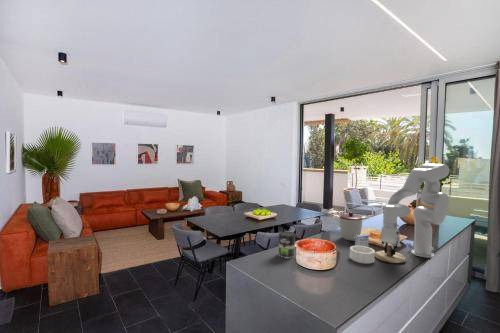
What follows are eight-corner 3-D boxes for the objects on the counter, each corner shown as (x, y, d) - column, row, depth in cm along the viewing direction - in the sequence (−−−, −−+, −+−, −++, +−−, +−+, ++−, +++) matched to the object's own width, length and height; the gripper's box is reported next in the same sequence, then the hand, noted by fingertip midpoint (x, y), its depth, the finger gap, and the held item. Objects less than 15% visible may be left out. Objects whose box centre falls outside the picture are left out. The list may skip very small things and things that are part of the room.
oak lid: (385, 250, 175) (385, 240, 175) (411, 259, 160) (411, 247, 160) (369, 255, 167) (369, 244, 166) (395, 265, 152) (395, 253, 152)
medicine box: (358, 249, 181) (359, 236, 180) (354, 246, 185) (355, 234, 185) (368, 248, 183) (368, 235, 183) (364, 246, 187) (364, 234, 187)
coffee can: (291, 259, 161) (292, 237, 160) (276, 256, 166) (276, 234, 165) (296, 254, 170) (297, 232, 169) (282, 251, 175) (282, 230, 174)
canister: (333, 237, 207) (333, 210, 206) (349, 234, 215) (349, 209, 215) (351, 244, 191) (352, 215, 190) (368, 240, 199) (368, 213, 199)
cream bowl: (359, 253, 172) (360, 244, 172) (379, 260, 160) (379, 251, 160) (345, 257, 166) (345, 247, 165) (364, 265, 153) (364, 255, 153)
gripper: (406, 227, 157) (406, 257, 158) (381, 221, 172) (381, 248, 173) (399, 229, 154) (399, 259, 154) (374, 222, 168) (373, 250, 169)
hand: (389, 253), depth 163 cm, fingers closed on oak lid, 3 cm apart
